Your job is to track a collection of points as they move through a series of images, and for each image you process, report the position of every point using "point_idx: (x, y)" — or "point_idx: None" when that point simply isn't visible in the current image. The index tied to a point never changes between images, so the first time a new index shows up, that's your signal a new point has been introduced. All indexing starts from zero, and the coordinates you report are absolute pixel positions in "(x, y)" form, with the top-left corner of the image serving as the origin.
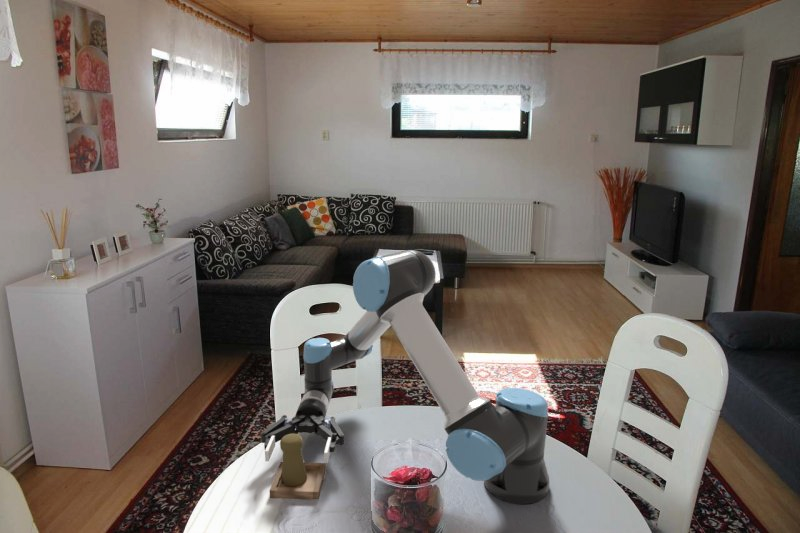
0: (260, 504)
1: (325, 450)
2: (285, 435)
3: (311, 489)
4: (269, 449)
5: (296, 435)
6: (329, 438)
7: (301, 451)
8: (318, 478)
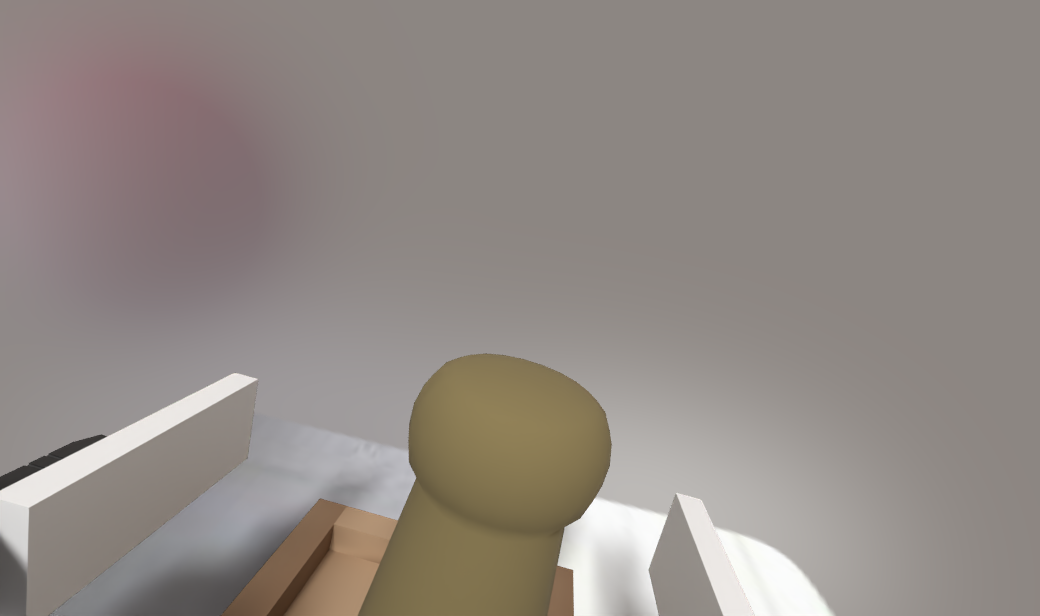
0: (593, 582)
1: (232, 388)
2: (584, 417)
3: (350, 520)
4: (682, 531)
5: (480, 377)
6: (41, 485)
7: (407, 505)
8: (270, 589)
